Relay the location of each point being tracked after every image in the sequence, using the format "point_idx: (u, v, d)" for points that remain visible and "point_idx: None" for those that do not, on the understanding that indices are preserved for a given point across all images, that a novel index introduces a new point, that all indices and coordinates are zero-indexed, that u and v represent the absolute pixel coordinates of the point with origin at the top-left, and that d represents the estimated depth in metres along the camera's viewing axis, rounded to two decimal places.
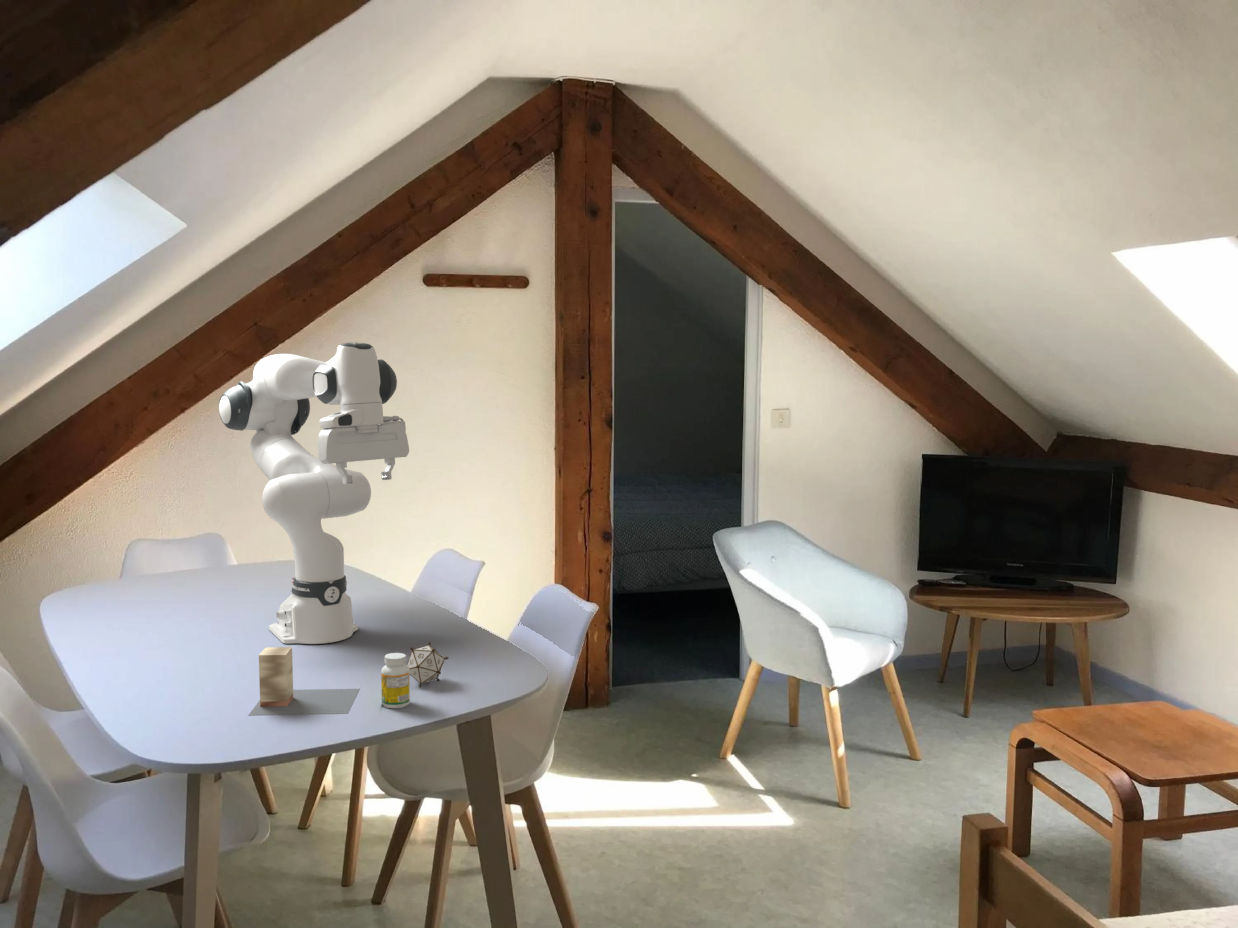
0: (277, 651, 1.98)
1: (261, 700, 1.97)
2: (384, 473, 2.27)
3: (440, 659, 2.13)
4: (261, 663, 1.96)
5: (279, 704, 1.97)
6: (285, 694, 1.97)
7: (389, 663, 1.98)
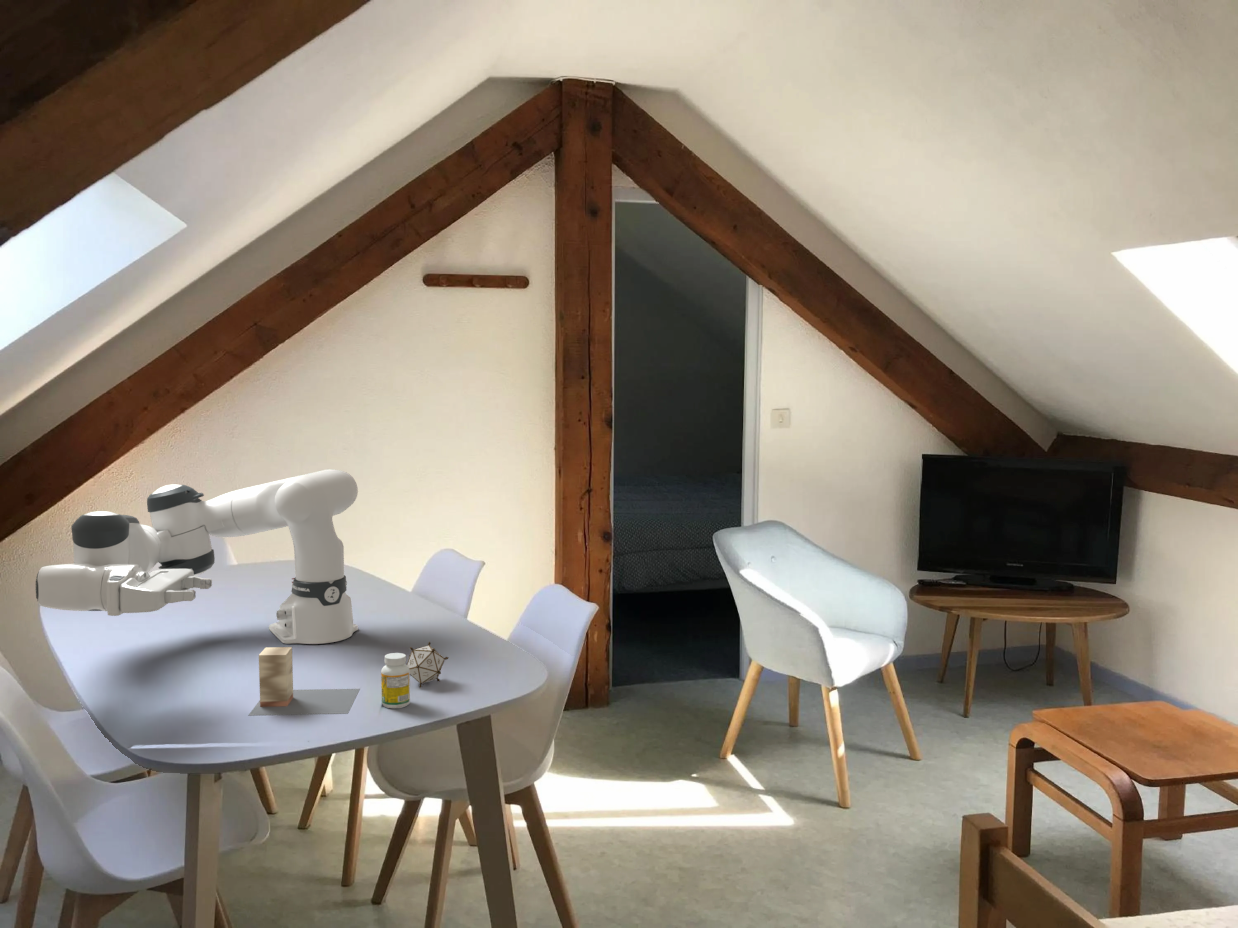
0: (277, 651, 1.98)
1: (261, 700, 1.97)
2: (201, 582, 2.00)
3: (440, 659, 2.13)
4: (261, 663, 1.96)
5: (279, 704, 1.97)
6: (285, 694, 1.97)
7: (389, 663, 1.98)
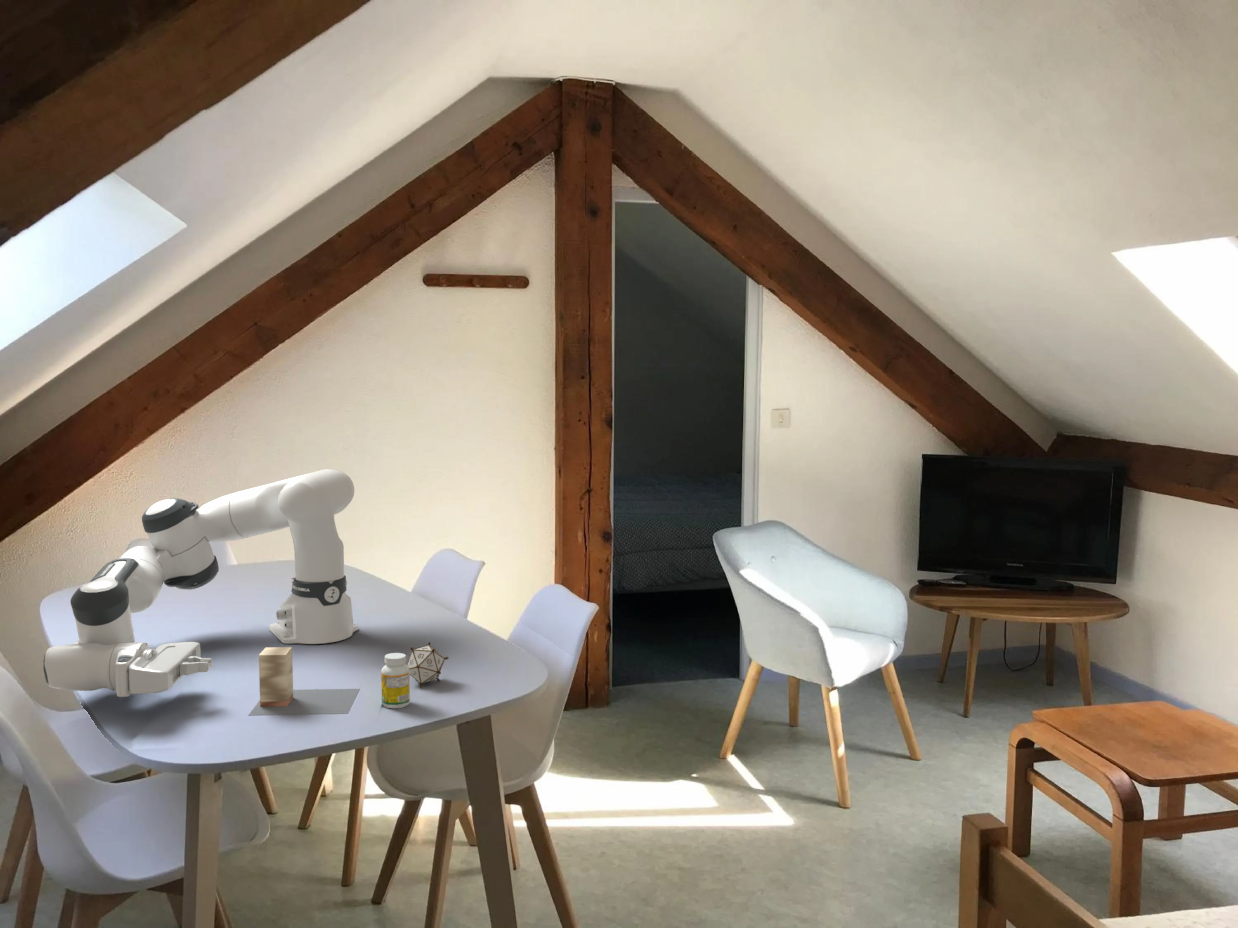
0: (277, 651, 1.98)
1: (261, 700, 1.97)
2: None
3: (440, 659, 2.13)
4: (261, 663, 1.96)
5: (279, 704, 1.97)
6: (285, 694, 1.97)
7: (389, 663, 1.98)
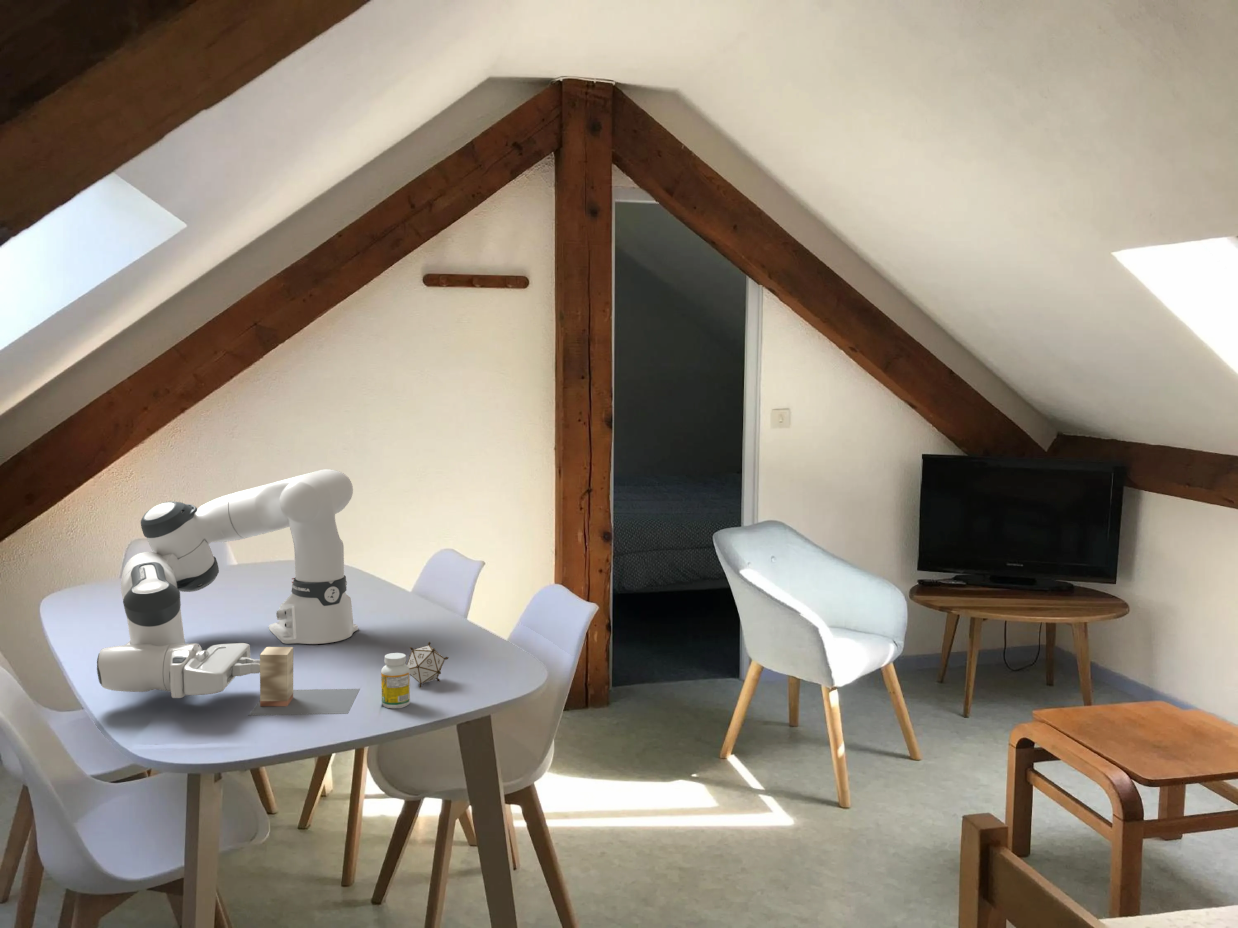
0: (278, 651, 1.98)
1: (261, 699, 1.97)
2: None
3: (440, 659, 2.13)
4: (262, 662, 1.96)
5: (279, 704, 1.97)
6: (285, 694, 1.97)
7: (389, 663, 1.98)
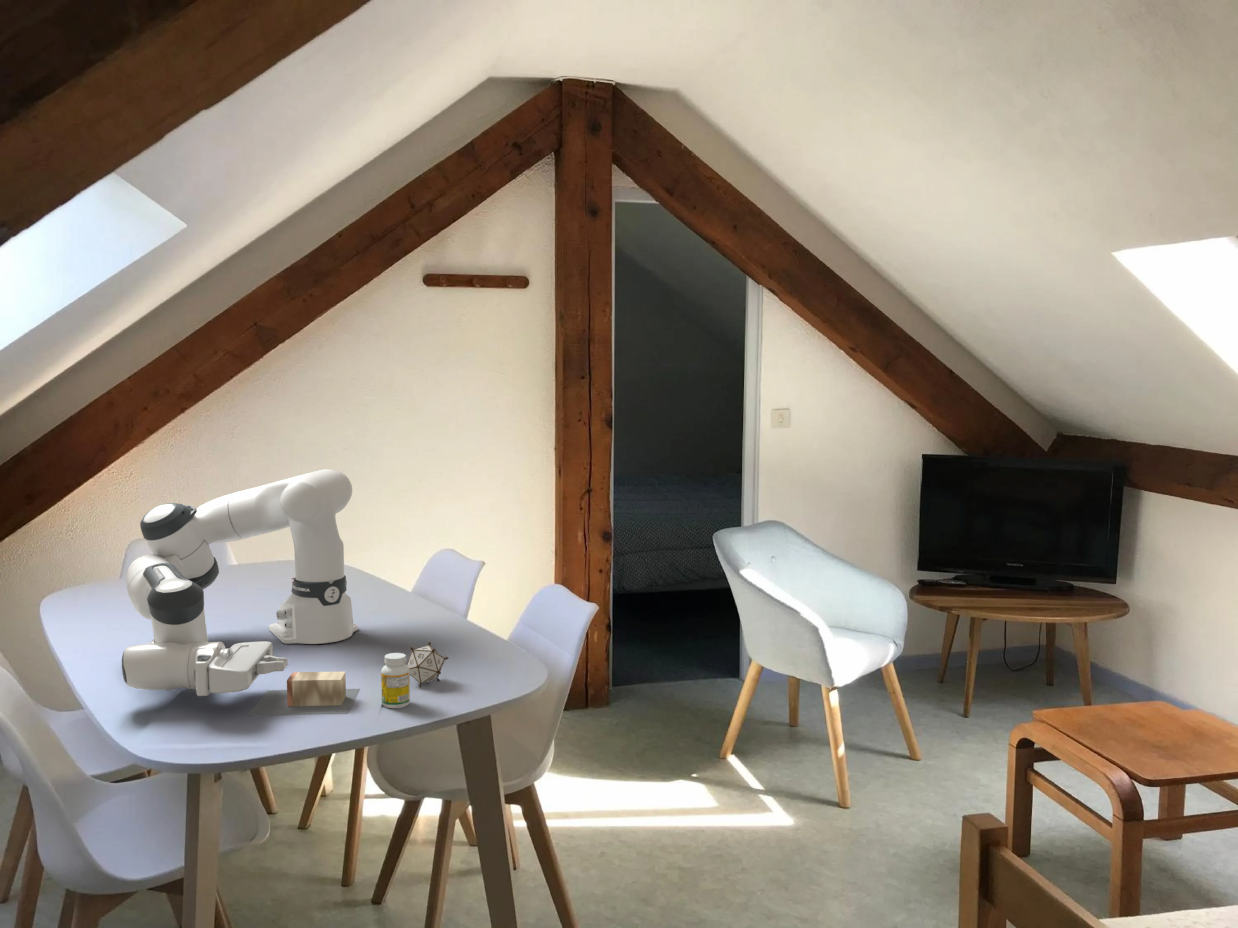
0: (343, 690, 2.00)
1: (293, 681, 1.97)
2: None
3: (440, 659, 2.13)
4: (332, 682, 1.98)
5: (289, 698, 1.97)
6: (299, 704, 1.98)
7: (389, 663, 1.98)
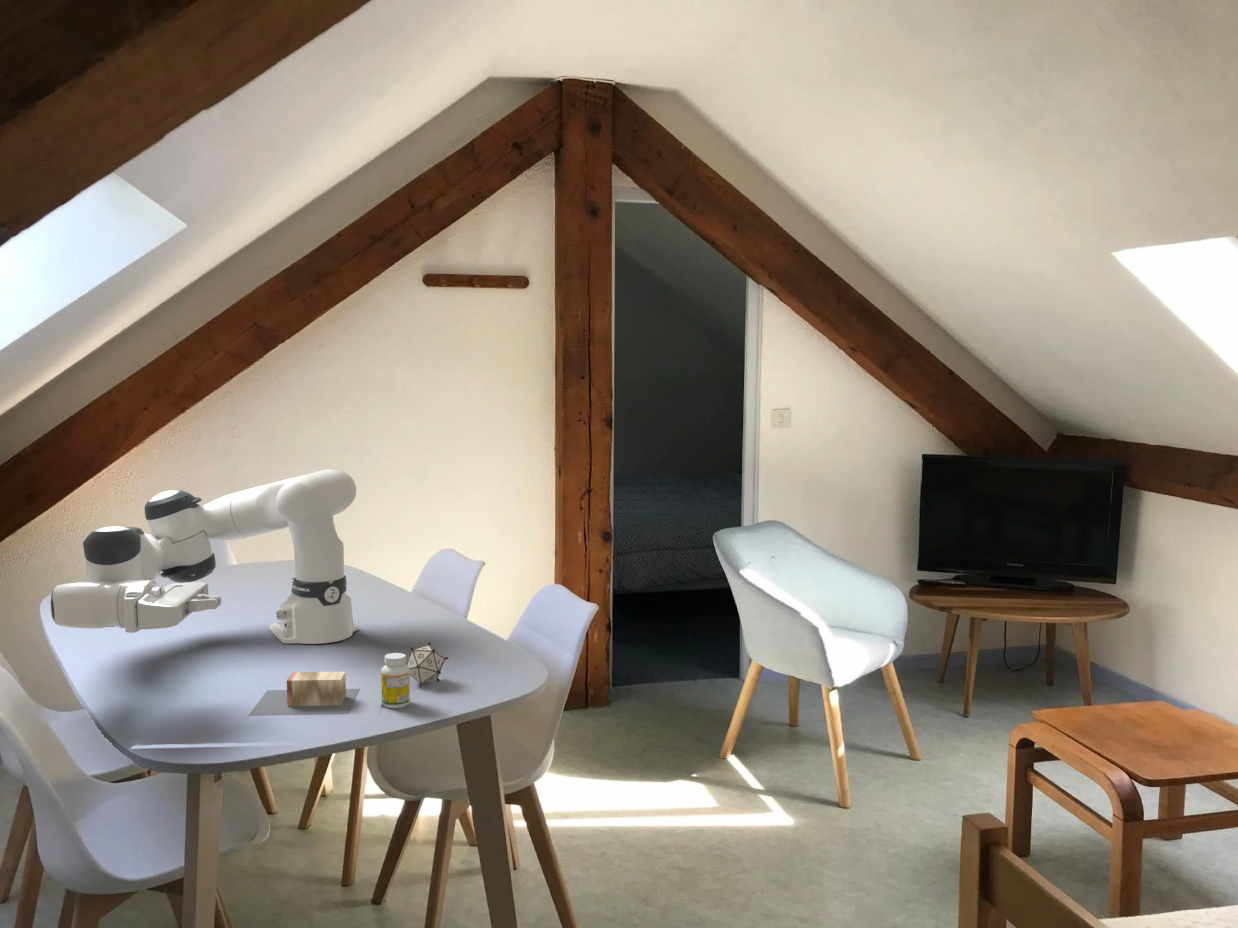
0: (343, 690, 2.00)
1: (293, 681, 1.97)
2: None
3: (440, 659, 2.13)
4: (332, 682, 1.98)
5: (289, 698, 1.97)
6: (299, 704, 1.98)
7: (389, 663, 1.98)
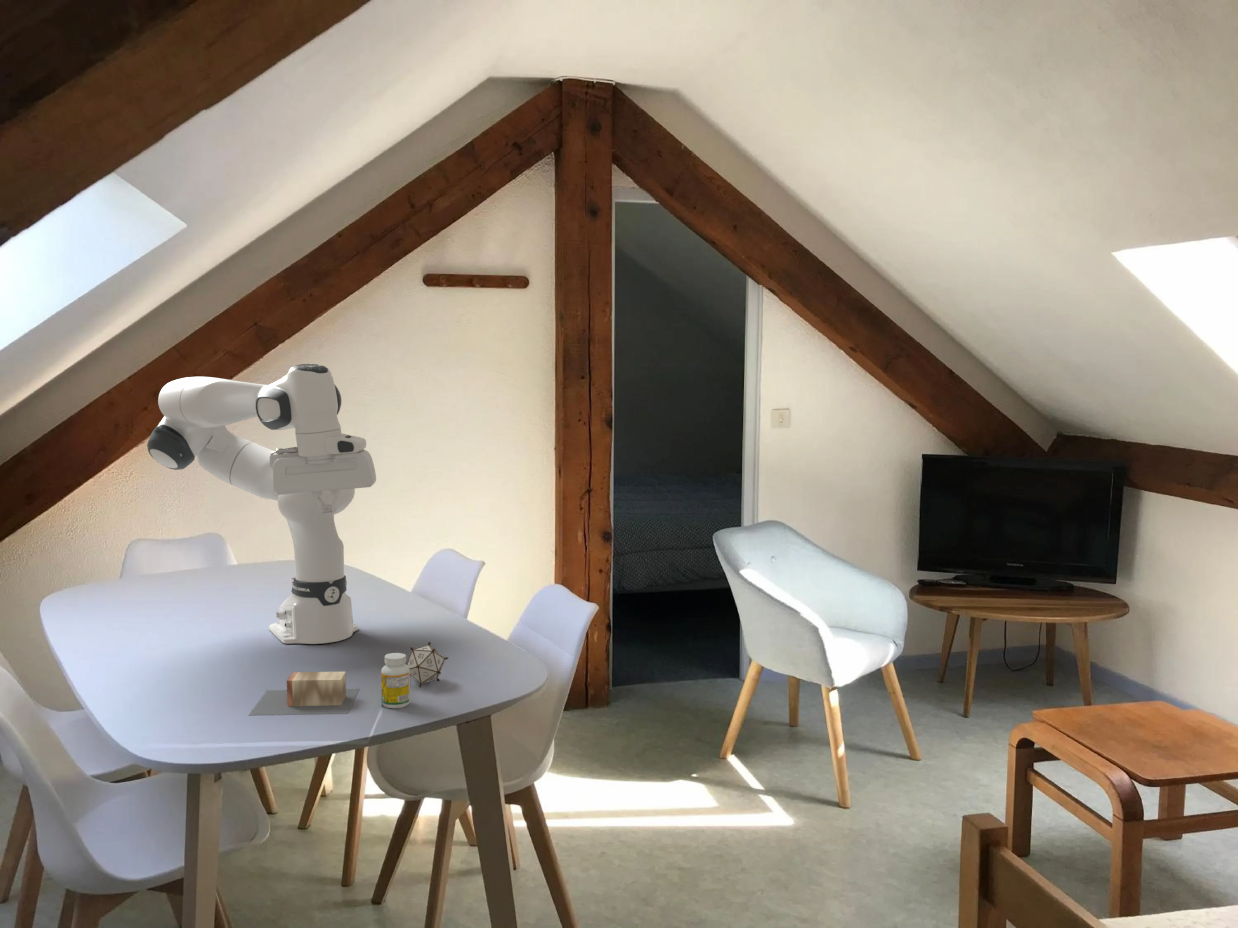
0: (343, 690, 2.00)
1: (293, 681, 1.97)
2: None
3: (440, 659, 2.13)
4: (332, 682, 1.98)
5: (289, 698, 1.97)
6: (299, 704, 1.98)
7: (389, 663, 1.98)
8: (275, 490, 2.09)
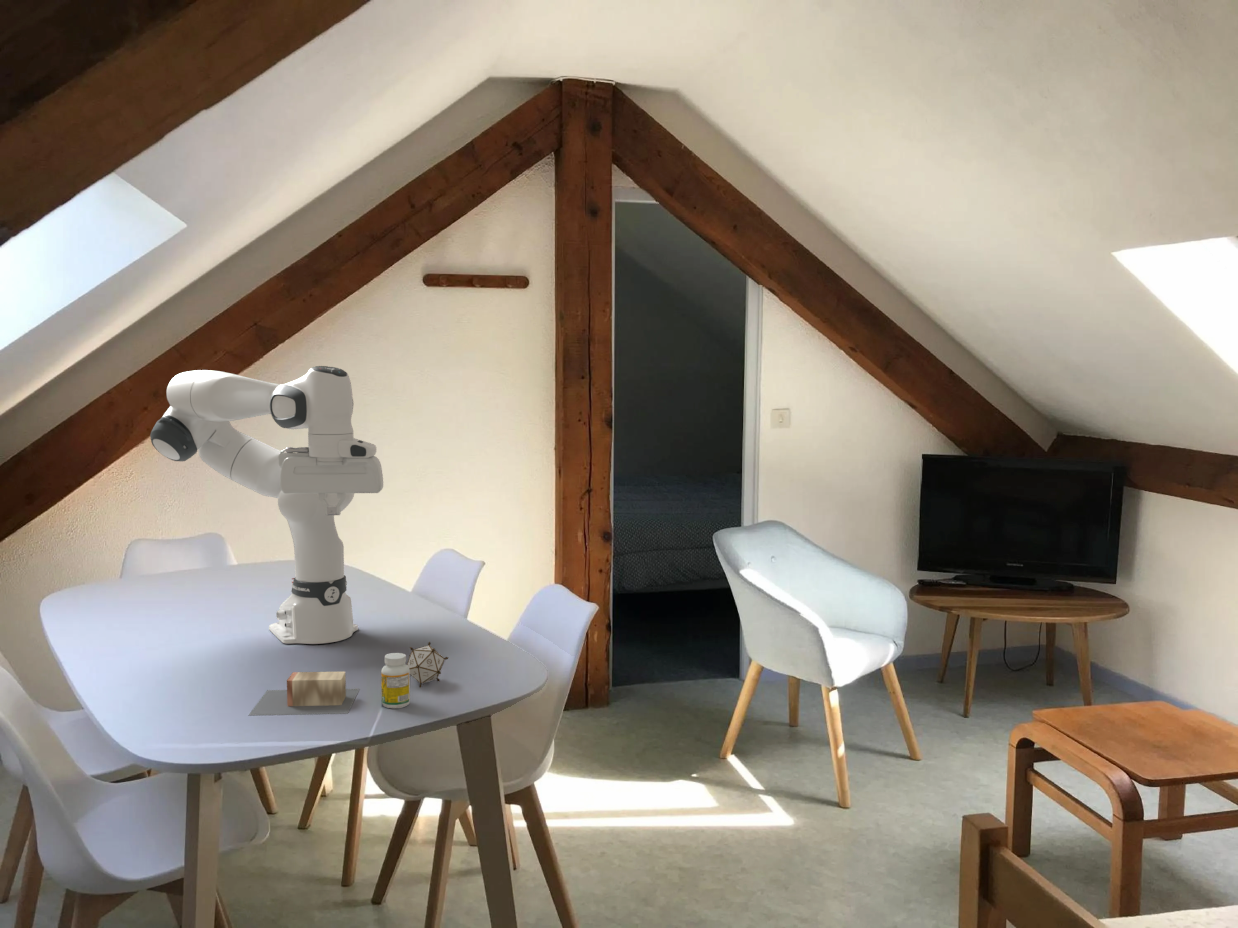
0: (343, 690, 2.00)
1: (293, 681, 1.97)
2: None
3: (440, 659, 2.13)
4: (332, 682, 1.98)
5: (289, 698, 1.97)
6: (299, 704, 1.98)
7: (389, 663, 1.98)
8: (282, 488, 2.09)
